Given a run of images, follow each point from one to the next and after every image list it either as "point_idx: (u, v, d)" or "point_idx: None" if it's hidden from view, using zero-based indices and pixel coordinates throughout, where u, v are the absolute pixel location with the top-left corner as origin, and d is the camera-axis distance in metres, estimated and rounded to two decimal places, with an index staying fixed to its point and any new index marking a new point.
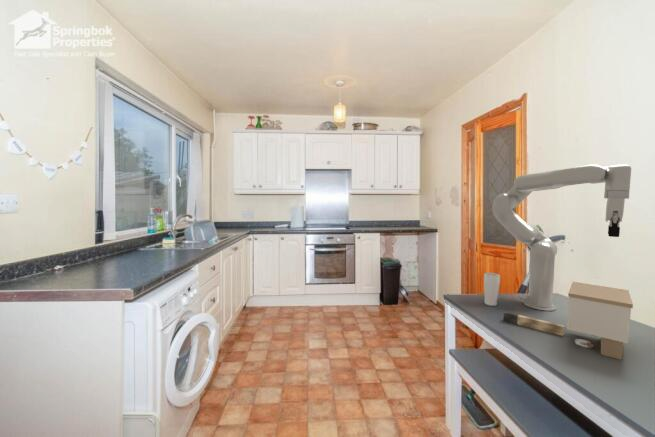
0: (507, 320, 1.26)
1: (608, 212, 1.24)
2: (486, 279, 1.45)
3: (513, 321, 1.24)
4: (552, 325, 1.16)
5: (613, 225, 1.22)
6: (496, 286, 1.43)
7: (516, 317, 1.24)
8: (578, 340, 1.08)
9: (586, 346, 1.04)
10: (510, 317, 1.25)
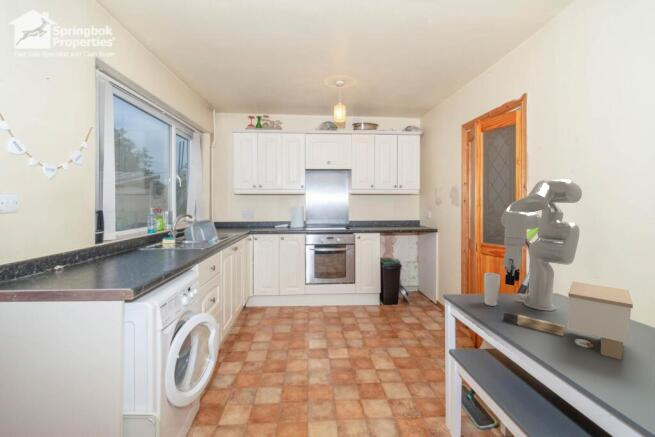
0: (507, 320, 1.26)
1: (505, 259, 1.22)
2: (486, 279, 1.45)
3: (513, 321, 1.24)
4: (552, 325, 1.16)
5: (508, 273, 1.20)
6: (496, 286, 1.43)
7: (516, 317, 1.24)
8: (578, 340, 1.08)
9: (586, 346, 1.04)
10: (510, 317, 1.25)
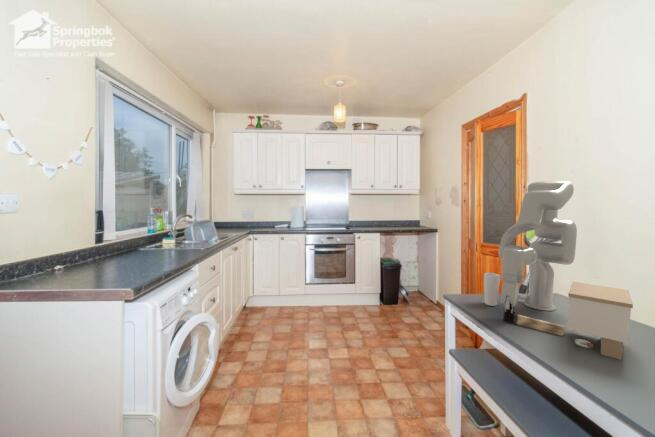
0: None
1: (502, 296, 1.23)
2: (486, 279, 1.45)
3: (513, 321, 1.24)
4: (552, 325, 1.16)
5: (507, 311, 1.24)
6: (496, 286, 1.43)
7: (516, 317, 1.24)
8: (578, 340, 1.08)
9: (586, 346, 1.05)
10: None
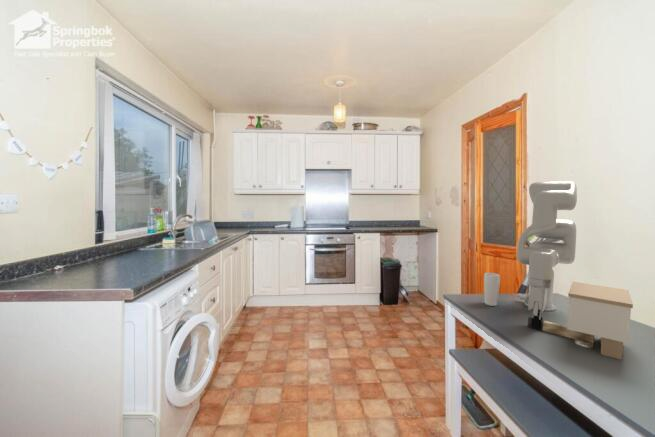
0: None
1: (529, 301, 1.17)
2: (486, 279, 1.45)
3: None
4: (581, 332, 1.10)
5: (535, 317, 1.18)
6: (496, 286, 1.43)
7: (542, 323, 1.18)
8: (578, 340, 1.08)
9: (586, 346, 1.05)
10: None
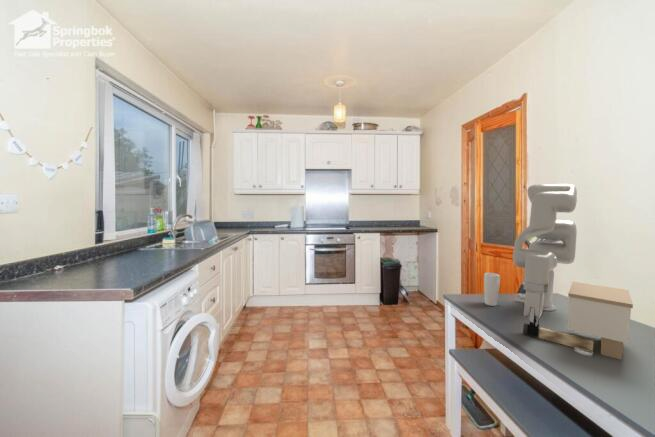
0: None
1: (525, 307, 1.10)
2: (486, 279, 1.45)
3: None
4: (579, 340, 1.03)
5: (531, 324, 1.11)
6: (496, 286, 1.43)
7: (538, 330, 1.11)
8: (578, 347, 1.02)
9: (584, 353, 0.99)
10: None
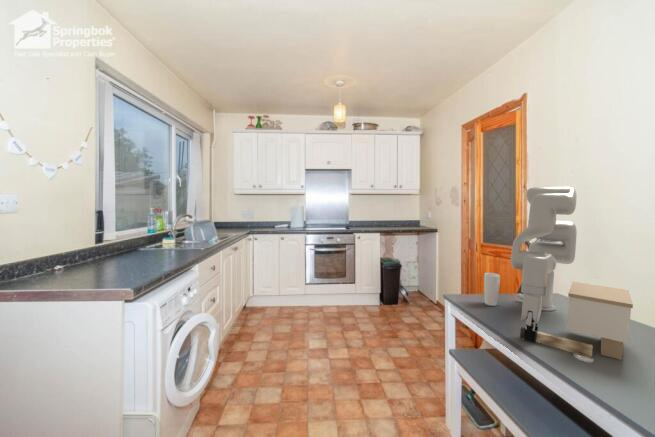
0: None
1: (523, 311, 1.07)
2: (486, 279, 1.45)
3: None
4: (578, 345, 1.00)
5: (528, 329, 1.07)
6: (496, 286, 1.43)
7: None
8: (577, 353, 0.99)
9: (584, 360, 0.95)
10: None
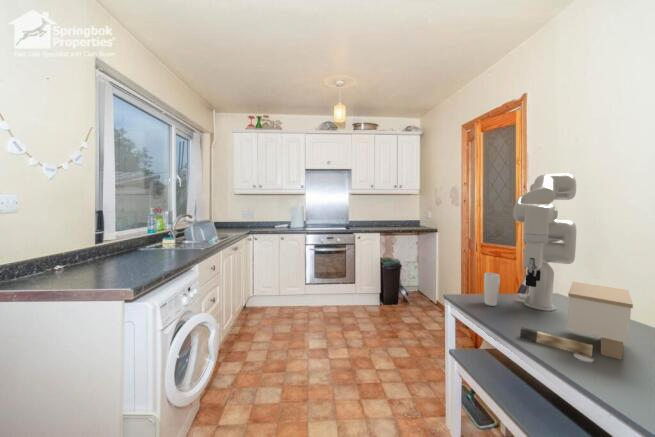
0: (524, 337, 1.10)
1: (525, 258, 1.10)
2: (486, 279, 1.45)
3: (532, 338, 1.09)
4: (578, 345, 1.00)
5: (529, 274, 1.09)
6: (496, 286, 1.43)
7: (535, 334, 1.08)
8: (577, 353, 0.98)
9: (584, 360, 0.95)
10: (528, 333, 1.09)
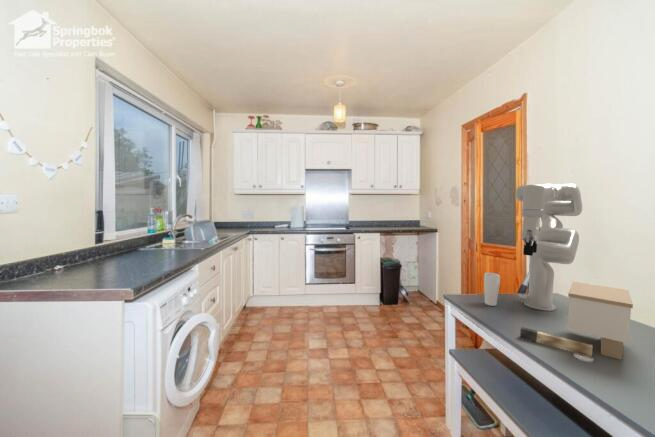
0: (524, 337, 1.10)
1: (523, 231, 1.26)
2: (486, 279, 1.45)
3: (532, 338, 1.09)
4: (578, 345, 1.00)
5: (526, 244, 1.24)
6: (496, 286, 1.43)
7: (535, 334, 1.08)
8: (577, 353, 0.98)
9: (586, 360, 0.95)
10: (528, 333, 1.09)
